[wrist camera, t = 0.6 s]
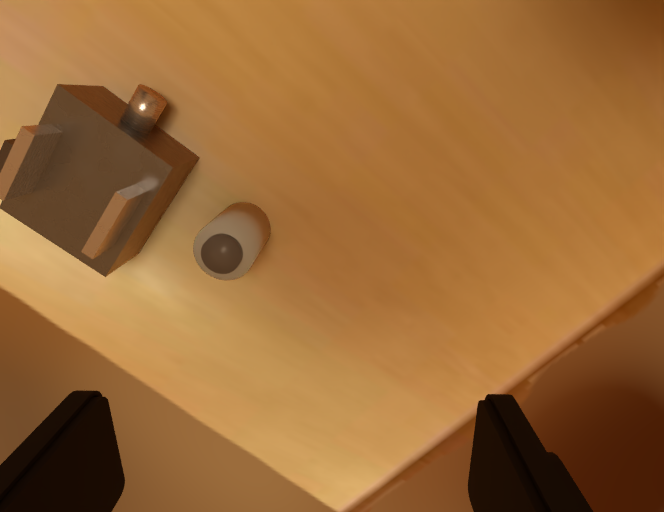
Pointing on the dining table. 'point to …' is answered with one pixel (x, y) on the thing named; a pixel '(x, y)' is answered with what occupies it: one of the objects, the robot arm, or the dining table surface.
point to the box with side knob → (94, 173)
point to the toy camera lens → (232, 241)
